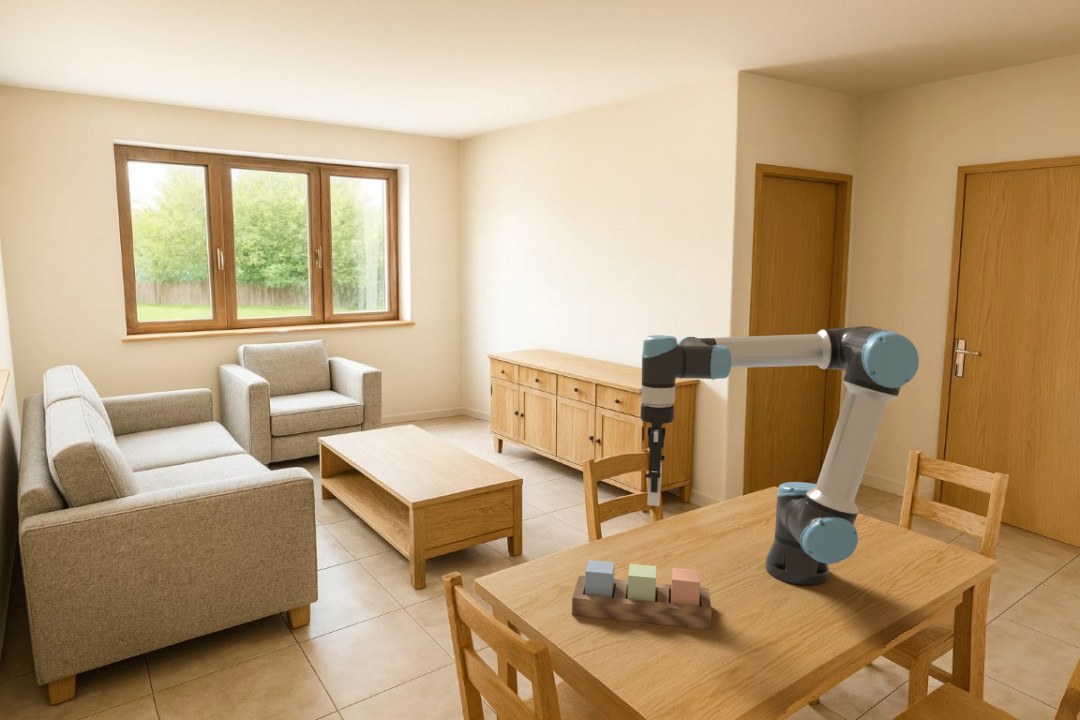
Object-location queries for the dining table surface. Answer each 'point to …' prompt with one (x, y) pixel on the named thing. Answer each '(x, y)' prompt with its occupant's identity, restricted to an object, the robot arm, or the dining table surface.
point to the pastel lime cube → (642, 582)
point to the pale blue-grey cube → (599, 578)
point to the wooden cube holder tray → (642, 606)
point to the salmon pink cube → (685, 587)
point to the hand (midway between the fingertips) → (654, 496)
